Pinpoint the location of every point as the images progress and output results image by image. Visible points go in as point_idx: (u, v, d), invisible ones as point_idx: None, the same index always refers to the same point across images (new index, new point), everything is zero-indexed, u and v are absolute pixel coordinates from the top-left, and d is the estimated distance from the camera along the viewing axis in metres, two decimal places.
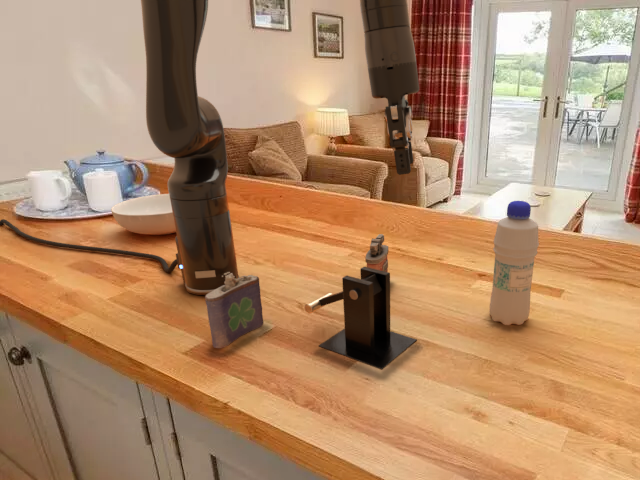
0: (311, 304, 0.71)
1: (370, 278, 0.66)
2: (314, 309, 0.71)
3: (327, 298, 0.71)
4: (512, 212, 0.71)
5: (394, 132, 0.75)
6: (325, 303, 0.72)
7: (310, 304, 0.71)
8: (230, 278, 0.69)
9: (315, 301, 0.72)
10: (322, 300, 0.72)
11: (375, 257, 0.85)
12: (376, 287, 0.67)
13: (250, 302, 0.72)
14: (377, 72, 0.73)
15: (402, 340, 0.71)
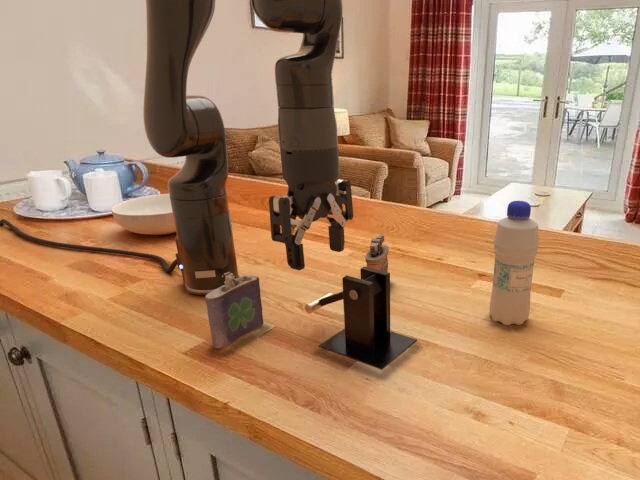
0: (311, 304, 0.71)
1: (370, 278, 0.66)
2: (314, 309, 0.71)
3: (327, 298, 0.71)
4: (512, 212, 0.71)
5: (290, 222, 0.65)
6: (325, 303, 0.72)
7: (310, 304, 0.71)
8: (230, 278, 0.69)
9: (315, 301, 0.72)
10: (322, 300, 0.72)
11: (375, 257, 0.85)
12: (376, 287, 0.67)
13: (250, 302, 0.72)
14: (281, 153, 0.63)
15: (402, 340, 0.71)
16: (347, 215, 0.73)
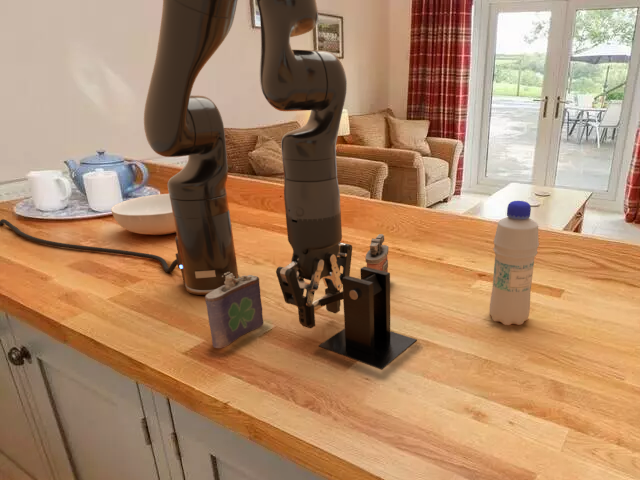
0: None
1: (370, 278, 0.66)
2: (314, 309, 0.71)
3: (327, 298, 0.71)
4: (512, 212, 0.71)
5: (299, 285, 0.70)
6: (325, 303, 0.72)
7: None
8: (230, 278, 0.69)
9: (315, 301, 0.72)
10: (322, 300, 0.72)
11: (375, 257, 0.85)
12: (376, 287, 0.67)
13: (250, 302, 0.72)
14: (286, 219, 0.67)
15: (402, 340, 0.71)
16: None
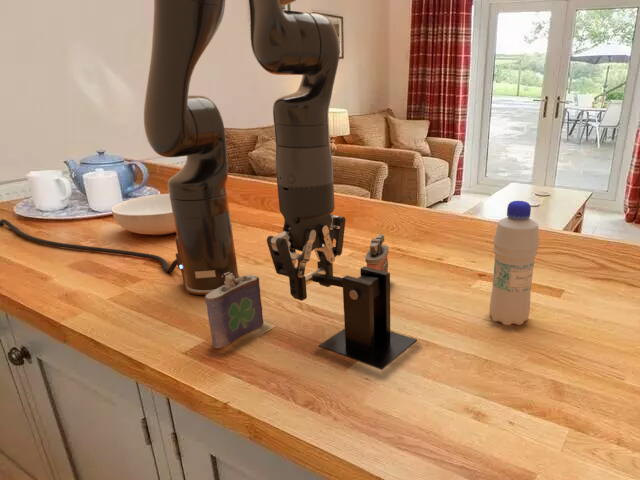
0: None
1: (373, 282, 0.66)
2: (306, 284, 0.71)
3: (322, 278, 0.70)
4: (512, 212, 0.71)
5: (291, 256, 0.68)
6: (318, 281, 0.71)
7: None
8: (230, 278, 0.69)
9: (309, 276, 0.71)
10: (316, 277, 0.71)
11: (375, 257, 0.85)
12: (376, 291, 0.67)
13: (250, 302, 0.72)
14: (278, 188, 0.65)
15: (402, 340, 0.71)
16: (336, 251, 0.74)
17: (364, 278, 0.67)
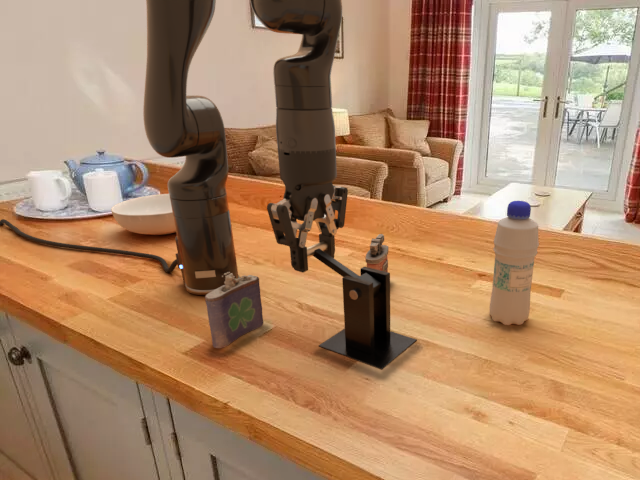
0: None
1: (376, 287, 0.66)
2: None
3: (324, 258, 0.69)
4: (512, 212, 0.71)
5: (292, 226, 0.66)
6: (319, 258, 0.69)
7: None
8: (230, 278, 0.69)
9: (311, 250, 0.69)
10: (318, 254, 0.69)
11: (375, 257, 0.85)
12: (374, 294, 0.67)
13: (250, 302, 0.72)
14: (278, 154, 0.63)
15: (402, 340, 0.71)
16: (338, 223, 0.72)
17: (367, 278, 0.67)
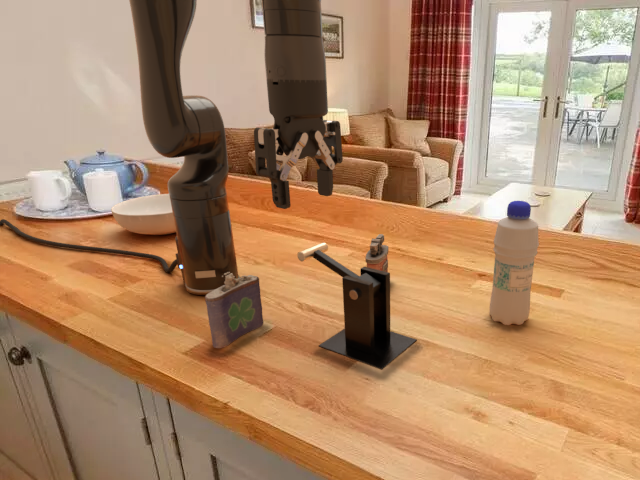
0: (306, 255, 0.68)
1: (375, 287, 0.66)
2: None
3: (323, 259, 0.69)
4: (512, 212, 0.71)
5: (276, 158, 0.64)
6: (318, 260, 0.70)
7: (305, 254, 0.68)
8: (230, 278, 0.69)
9: (311, 252, 0.69)
10: (317, 255, 0.69)
11: (375, 257, 0.85)
12: (374, 294, 0.67)
13: (250, 302, 0.72)
14: (267, 85, 0.61)
15: (402, 340, 0.71)
16: (336, 158, 0.71)
17: (367, 278, 0.67)
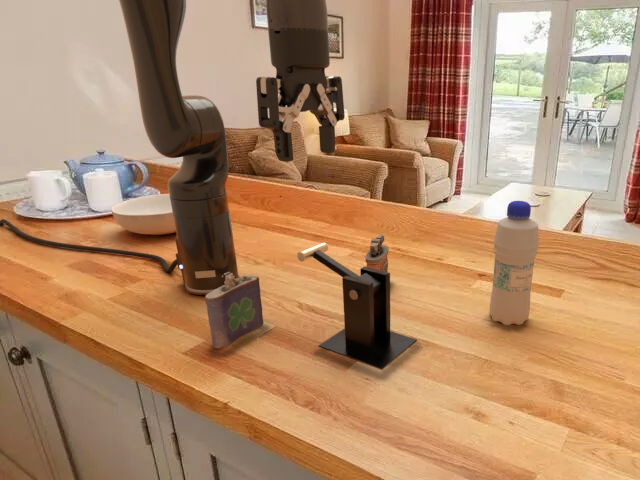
0: (306, 255, 0.68)
1: (375, 287, 0.66)
2: None
3: (323, 259, 0.69)
4: (512, 212, 0.71)
5: (279, 110, 0.64)
6: (318, 260, 0.70)
7: (305, 254, 0.68)
8: (230, 278, 0.69)
9: (311, 252, 0.69)
10: (317, 255, 0.69)
11: (375, 257, 0.85)
12: (374, 294, 0.67)
13: (250, 302, 0.72)
14: (269, 35, 0.62)
15: (402, 340, 0.71)
16: (338, 114, 0.71)
17: (367, 278, 0.67)
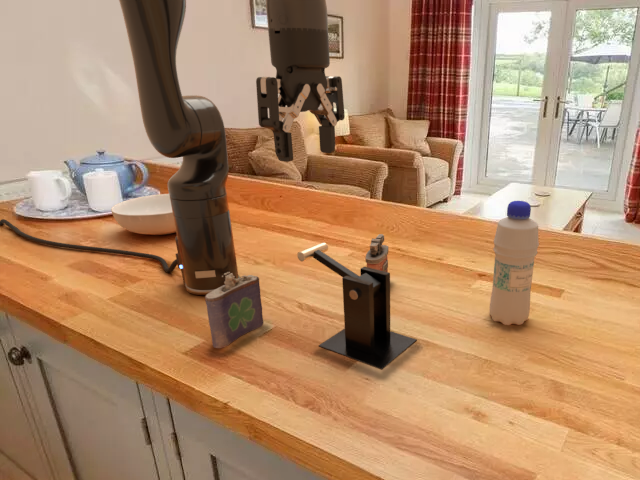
0: (306, 255, 0.68)
1: (375, 287, 0.66)
2: None
3: (323, 259, 0.69)
4: (512, 212, 0.71)
5: (279, 110, 0.64)
6: (318, 260, 0.70)
7: (305, 254, 0.68)
8: (230, 278, 0.69)
9: (311, 252, 0.69)
10: (317, 255, 0.69)
11: (375, 257, 0.85)
12: (374, 294, 0.67)
13: (250, 302, 0.72)
14: (269, 35, 0.62)
15: (402, 340, 0.71)
16: (338, 114, 0.71)
17: (367, 278, 0.67)
